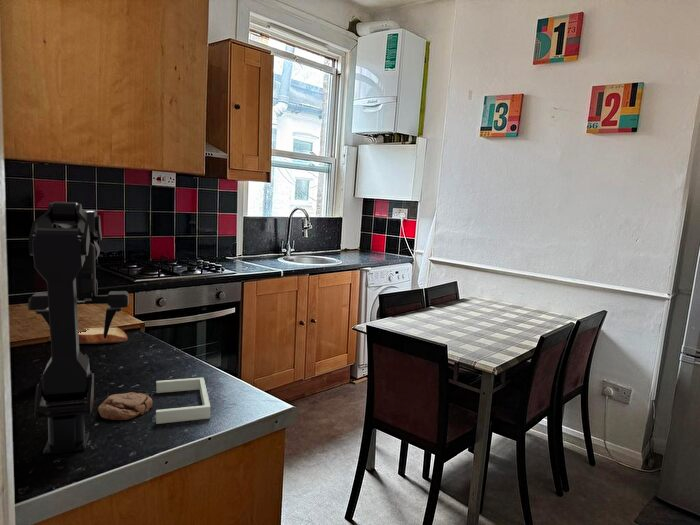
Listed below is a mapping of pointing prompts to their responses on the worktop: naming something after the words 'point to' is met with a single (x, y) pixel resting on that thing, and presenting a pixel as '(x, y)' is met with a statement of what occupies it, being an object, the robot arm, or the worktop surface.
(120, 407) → the cookie
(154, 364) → the worktop surface
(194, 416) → the box
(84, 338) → the slice of bread
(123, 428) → the worktop surface
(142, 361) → the worktop surface
